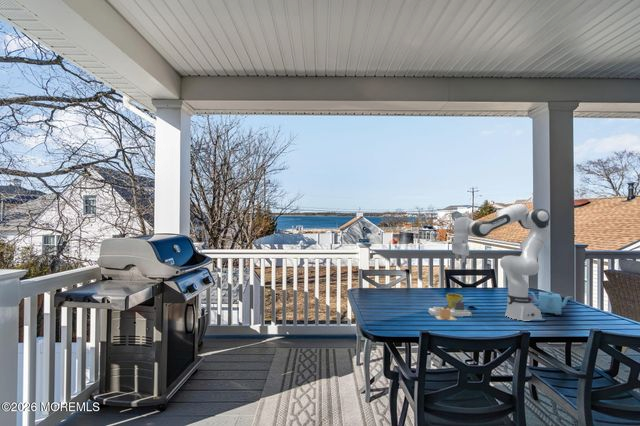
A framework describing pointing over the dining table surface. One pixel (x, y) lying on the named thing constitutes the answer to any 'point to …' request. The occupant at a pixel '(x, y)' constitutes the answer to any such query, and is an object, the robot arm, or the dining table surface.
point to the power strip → (452, 311)
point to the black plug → (459, 305)
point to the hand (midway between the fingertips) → (460, 261)
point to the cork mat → (446, 318)
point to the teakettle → (550, 302)
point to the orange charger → (445, 312)
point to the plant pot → (452, 299)
